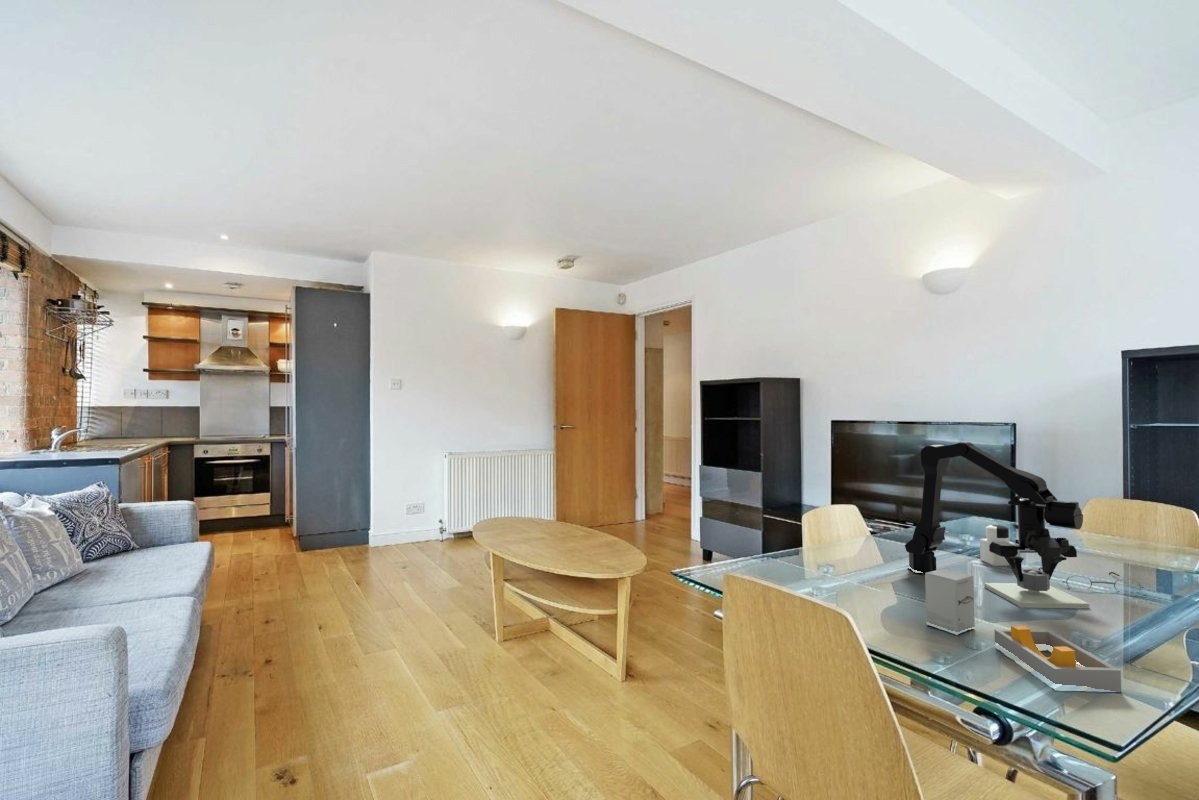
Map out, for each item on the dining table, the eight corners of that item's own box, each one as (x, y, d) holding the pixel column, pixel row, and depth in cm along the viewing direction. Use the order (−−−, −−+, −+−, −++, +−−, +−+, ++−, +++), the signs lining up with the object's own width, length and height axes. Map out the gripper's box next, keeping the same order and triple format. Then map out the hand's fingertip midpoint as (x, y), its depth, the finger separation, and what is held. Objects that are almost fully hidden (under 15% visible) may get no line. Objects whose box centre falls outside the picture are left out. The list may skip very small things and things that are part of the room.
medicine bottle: (1003, 560, 183) (1001, 523, 184) (1017, 566, 176) (1015, 528, 176) (980, 560, 184) (978, 523, 184) (993, 566, 177) (991, 528, 177)
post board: (1021, 607, 141) (1020, 579, 141) (984, 587, 157) (983, 562, 157) (1089, 608, 140) (1088, 580, 140) (1045, 587, 156) (1044, 562, 156)
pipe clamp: (1085, 685, 103) (1084, 650, 103) (1062, 686, 102) (1061, 651, 103) (1032, 656, 115) (1031, 625, 115) (1011, 657, 114) (1010, 626, 115)
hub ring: (1028, 590, 146) (1027, 575, 146) (1012, 583, 152) (1012, 568, 152) (1054, 591, 145) (1054, 575, 145) (1038, 583, 151) (1037, 568, 151)
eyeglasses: (1064, 589, 155) (1063, 575, 155) (1037, 572, 173) (1036, 559, 173) (1146, 595, 149) (1145, 580, 149) (1109, 577, 167) (1108, 563, 167)
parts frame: (1055, 691, 101) (1054, 668, 101) (995, 648, 118) (994, 629, 119) (1121, 693, 99) (1120, 670, 100) (1050, 649, 117) (1049, 630, 117)
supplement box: (957, 636, 125) (955, 580, 125) (925, 625, 131) (923, 571, 132) (976, 629, 128) (974, 575, 128) (943, 619, 135) (942, 567, 135)
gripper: (1013, 529, 142) (1015, 591, 141) (1092, 529, 140) (1094, 591, 140) (987, 520, 153) (989, 577, 153) (1060, 520, 151) (1062, 578, 151)
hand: (1033, 581), depth 148 cm, fingers closed on hub ring, 6 cm apart
